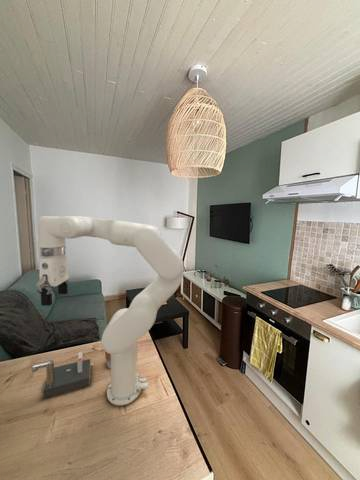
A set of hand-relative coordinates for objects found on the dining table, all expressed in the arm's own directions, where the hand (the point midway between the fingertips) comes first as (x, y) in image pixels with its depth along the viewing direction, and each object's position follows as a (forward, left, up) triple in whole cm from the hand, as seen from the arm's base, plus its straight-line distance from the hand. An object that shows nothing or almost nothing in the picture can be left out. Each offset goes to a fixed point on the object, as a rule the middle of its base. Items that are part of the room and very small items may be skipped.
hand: (55, 299), depth 69 cm
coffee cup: (-16, -14, -37) cm, 42 cm away
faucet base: (-1, -5, -36) cm, 37 cm away
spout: (+5, +1, -33) cm, 33 cm away
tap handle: (-4, -8, -33) cm, 34 cm away
